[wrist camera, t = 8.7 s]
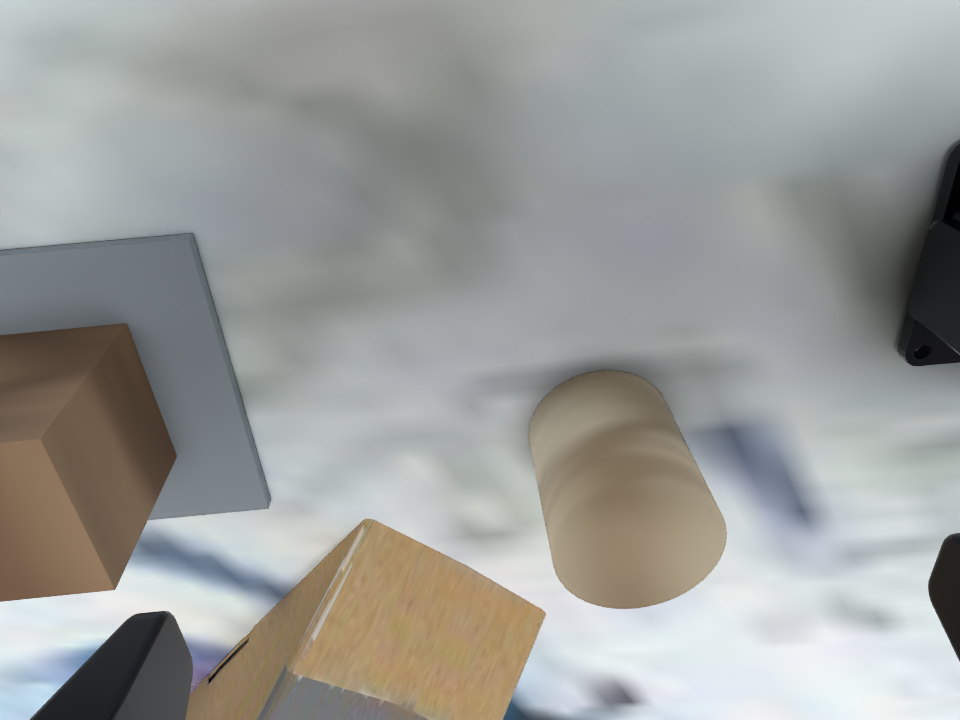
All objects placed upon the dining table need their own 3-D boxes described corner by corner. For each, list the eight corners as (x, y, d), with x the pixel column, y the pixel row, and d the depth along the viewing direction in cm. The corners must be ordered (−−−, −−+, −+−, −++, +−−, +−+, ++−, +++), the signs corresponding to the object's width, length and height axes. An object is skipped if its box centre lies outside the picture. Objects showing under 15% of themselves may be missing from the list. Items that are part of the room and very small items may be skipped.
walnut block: (126, 322, 19) (39, 438, 15) (177, 456, 21) (114, 589, 17) (-45, 339, 19) (-183, 460, 15) (24, 471, 21) (-77, 609, 17)
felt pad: (192, 233, 18) (188, 239, 18) (270, 499, 23) (268, 508, 23) (-168, 265, 18) (-179, 271, 18) (-15, 526, 23) (-21, 536, 22)
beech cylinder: (674, 363, 21) (736, 473, 17) (664, 477, 24) (717, 600, 19) (525, 377, 21) (551, 491, 17) (530, 490, 24) (553, 616, 19)
